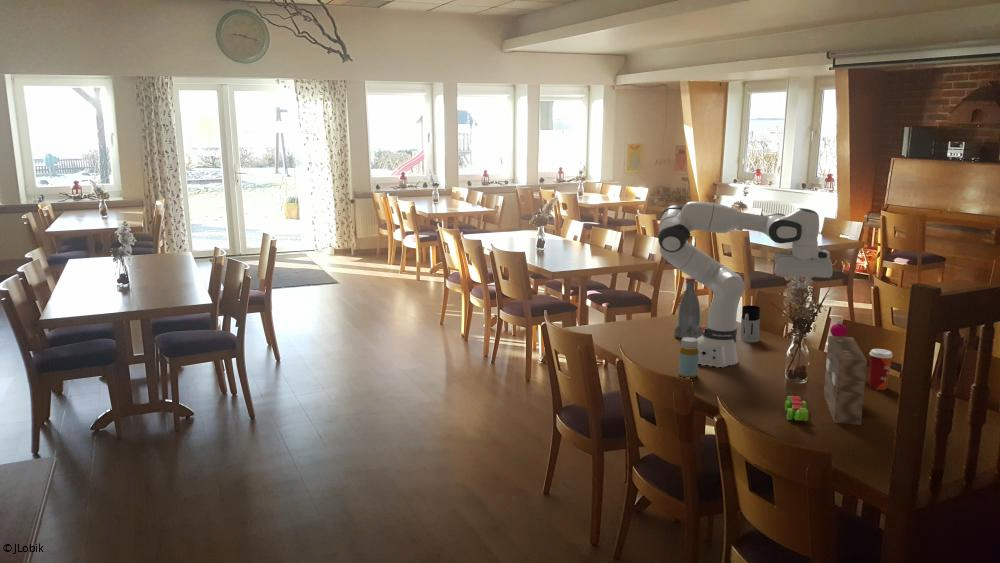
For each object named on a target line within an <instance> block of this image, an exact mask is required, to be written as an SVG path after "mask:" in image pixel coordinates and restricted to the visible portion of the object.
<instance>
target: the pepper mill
mask: <svg viewBox="0 0 1000 563" xmlns="http://www.w3.org/2000/svg"><path fill="white" fill-rule="evenodd" d="M829 331H830V334H831V336H836V337H846V335H847V334H848V328H847V327H846V326H845V325H844V324H843V323H842V320H837V321H836V324H833V325H832V326H831V327H830V330H829ZM825 360H827V356H825Z"/></svg>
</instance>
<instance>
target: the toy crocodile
mask: <svg viewBox="0 0 1000 563" xmlns="http://www.w3.org/2000/svg"><path fill="white" fill-rule="evenodd" d="M784 410H785V412H786V419H787V420H788V421H793V419H794V420H795V421H802V422H808V421H809V417H810V416H809V410H808V408H807V402H806V401H805V400H802V398H801V396H795V395H787V396H786V400H784Z"/></svg>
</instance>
